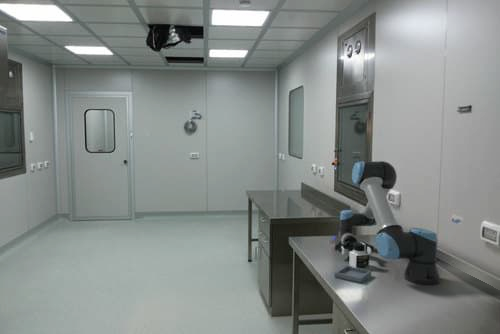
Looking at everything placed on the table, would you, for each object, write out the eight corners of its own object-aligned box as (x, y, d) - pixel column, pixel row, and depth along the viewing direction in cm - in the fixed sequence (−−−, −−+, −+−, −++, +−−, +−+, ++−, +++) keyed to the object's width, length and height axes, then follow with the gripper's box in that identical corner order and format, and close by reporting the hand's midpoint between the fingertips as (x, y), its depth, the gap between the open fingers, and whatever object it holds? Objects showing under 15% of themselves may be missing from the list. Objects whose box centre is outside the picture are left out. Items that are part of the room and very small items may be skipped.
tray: (371, 276, 192) (371, 270, 192) (360, 283, 182) (360, 278, 182) (346, 270, 200) (346, 265, 200) (334, 277, 190) (334, 272, 190)
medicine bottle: (356, 269, 202) (356, 245, 201) (348, 264, 209) (349, 241, 208) (368, 268, 204) (369, 244, 203) (361, 263, 211) (362, 240, 210)
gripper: (371, 248, 229) (381, 260, 208) (327, 247, 231) (332, 259, 210) (372, 235, 229) (382, 245, 208) (327, 234, 230) (332, 244, 209)
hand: (357, 252), depth 209 cm, fingers open, 13 cm apart
